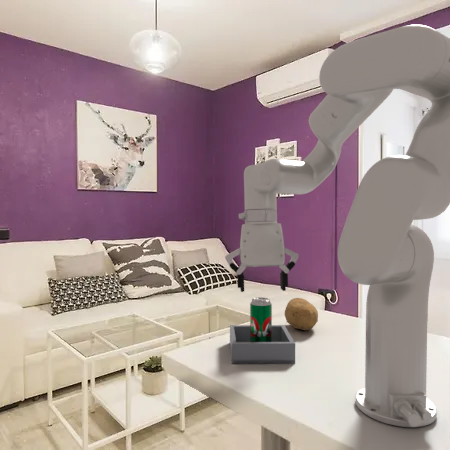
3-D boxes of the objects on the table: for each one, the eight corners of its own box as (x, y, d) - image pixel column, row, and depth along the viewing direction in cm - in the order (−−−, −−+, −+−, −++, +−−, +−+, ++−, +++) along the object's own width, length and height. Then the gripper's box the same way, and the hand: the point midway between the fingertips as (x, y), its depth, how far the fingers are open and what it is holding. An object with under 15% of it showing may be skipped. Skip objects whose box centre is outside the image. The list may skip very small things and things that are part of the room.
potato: (288, 336, 105) (288, 306, 105) (281, 321, 119) (281, 295, 119) (324, 336, 105) (324, 306, 105) (313, 321, 119) (313, 295, 119)
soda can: (271, 346, 95) (271, 297, 95) (271, 353, 90) (271, 301, 90) (250, 345, 96) (250, 296, 95) (249, 352, 91) (249, 301, 90)
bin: (295, 363, 86) (295, 343, 86) (231, 364, 86) (231, 343, 86) (284, 342, 100) (284, 325, 100) (229, 342, 100) (229, 325, 100)
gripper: (224, 218, 88) (226, 294, 88) (300, 216, 88) (302, 292, 88) (223, 218, 96) (225, 288, 96) (294, 217, 96) (296, 286, 96)
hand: (262, 290), depth 92 cm, fingers open, 9 cm apart
